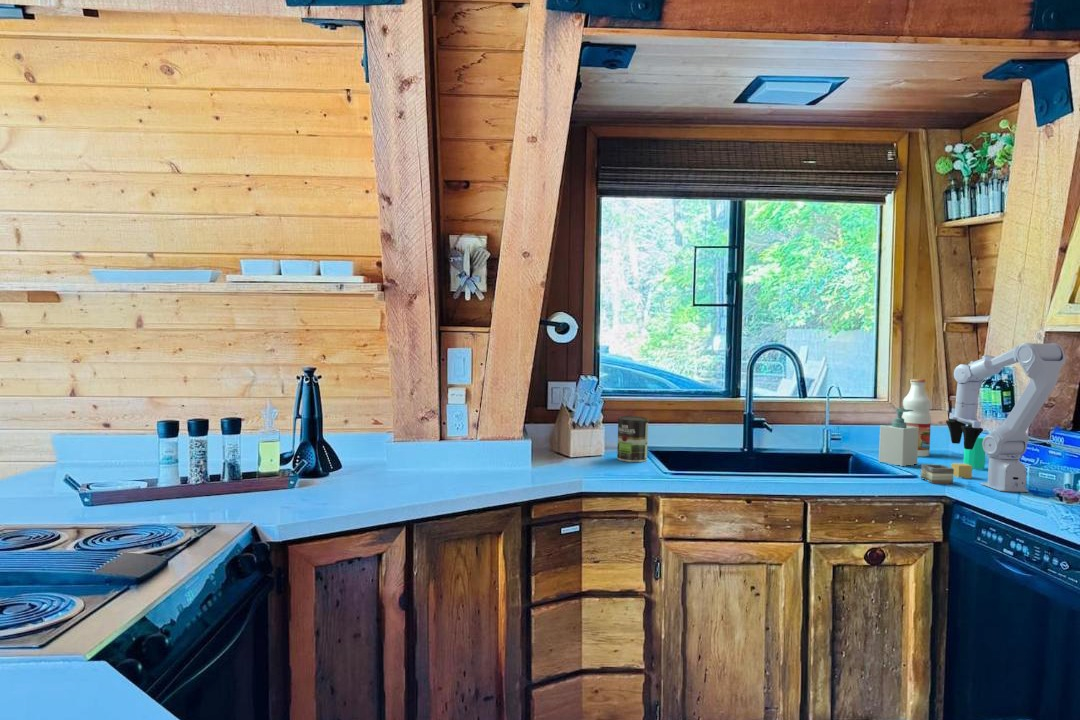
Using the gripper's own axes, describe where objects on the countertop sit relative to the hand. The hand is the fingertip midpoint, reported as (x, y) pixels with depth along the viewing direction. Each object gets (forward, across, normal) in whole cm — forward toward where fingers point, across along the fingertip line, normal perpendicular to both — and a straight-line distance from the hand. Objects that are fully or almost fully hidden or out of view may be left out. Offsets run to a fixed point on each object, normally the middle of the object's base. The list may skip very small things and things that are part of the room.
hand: (961, 446), depth 214 cm
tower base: (+9, +10, -11) cm, 18 cm away
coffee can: (+12, -9, -101) cm, 103 cm away
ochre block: (+10, +1, 0) cm, 10 cm away
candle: (+11, -15, +12) cm, 22 cm away
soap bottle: (+11, -18, -11) cm, 24 cm away
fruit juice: (+12, -38, +4) cm, 40 cm away
